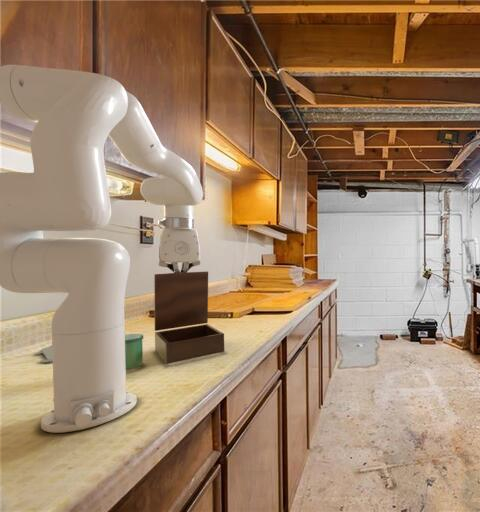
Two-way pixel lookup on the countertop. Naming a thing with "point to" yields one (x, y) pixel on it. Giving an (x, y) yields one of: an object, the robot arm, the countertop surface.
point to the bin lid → (180, 299)
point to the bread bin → (188, 343)
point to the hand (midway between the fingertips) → (180, 285)
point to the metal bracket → (46, 354)
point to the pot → (133, 350)
